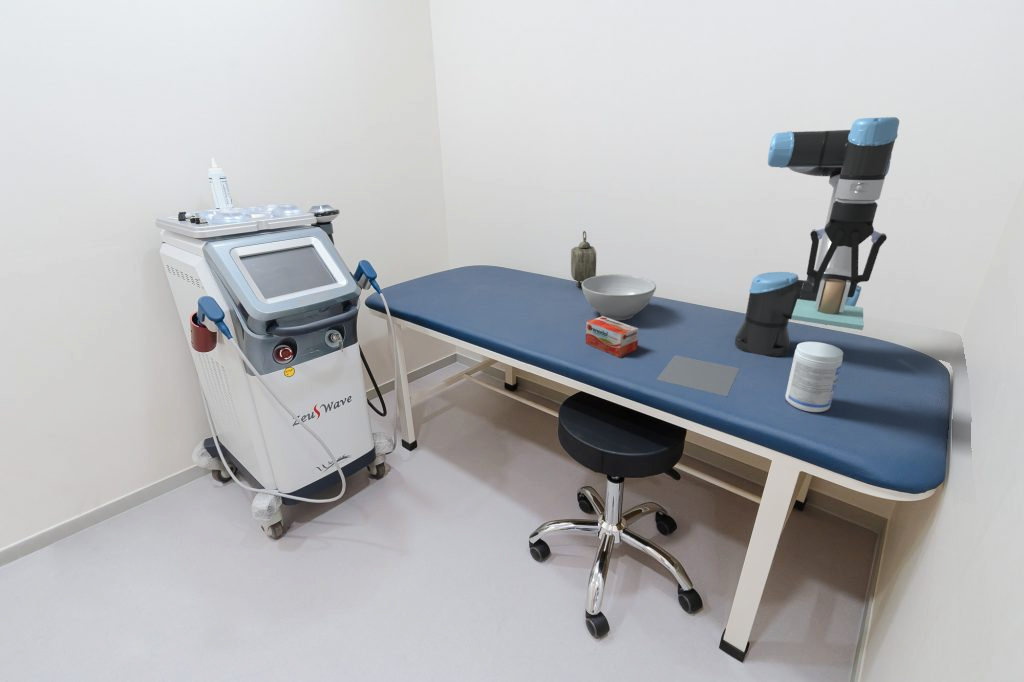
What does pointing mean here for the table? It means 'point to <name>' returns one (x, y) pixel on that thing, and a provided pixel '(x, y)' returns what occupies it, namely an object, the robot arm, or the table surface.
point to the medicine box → (611, 336)
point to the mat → (699, 375)
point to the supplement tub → (814, 376)
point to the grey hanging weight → (583, 261)
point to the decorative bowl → (618, 295)
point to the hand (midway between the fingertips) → (828, 308)
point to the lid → (830, 308)
